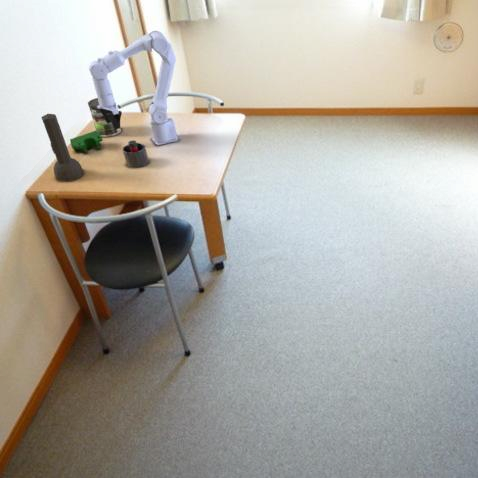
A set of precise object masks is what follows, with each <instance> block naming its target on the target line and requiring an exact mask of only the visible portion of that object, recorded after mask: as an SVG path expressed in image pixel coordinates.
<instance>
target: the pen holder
mask: <svg viewBox="0 0 478 478" xmlns="http://www.w3.org/2000/svg"><path fill="white" fill-rule="evenodd" d="M137 147H138V151H137V152H131V150H130V147H129V144H127V145H124V146H123V148H122V153H123V155H124V160H125V163H126V166H127V167H129V168H132V169H133V168H134V169H135V168H141V167H144V166H147V164H148V163H149V156H148V152H147V148H146V145H145V144H144V143H141V142H137Z"/></svg>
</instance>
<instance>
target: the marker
mask: <svg viewBox="0 0 478 478" xmlns="http://www.w3.org/2000/svg"><path fill="white" fill-rule="evenodd" d="M127 142H128V144H127V145H129V147H130V150H131V152H137V151H138V147H137V143H138V142H137V141H136V140H130V141H127Z"/></svg>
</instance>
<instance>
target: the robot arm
mask: <svg viewBox="0 0 478 478" xmlns="http://www.w3.org/2000/svg"><path fill="white" fill-rule="evenodd" d="M164 35H165V34H163V33H162V32H161V31H159V30H152V31H150V32H149V33H146V34H144V35H142V37H140V38H139V39H136V40H135V41H134V42H132V43H131V44H129V45H128V46H126V47H125V48H123V49H122V50H120V51H119V50H113V51H112V50H109V51H108V52H107V53H108V54H106V55H104V56H103V57H101V58H100V57H98V58H97V59H96V60H93V61H91V62H90V63H89V65H88V66H89V67H88V70H89V72H90V75H91V76H92V81H93V87H94V90H95V94H96V96H97V97H96V98H98V102H99V105H98V106H97V109H98V110H99V111H100V112H101V113H102V115H103V117H104V119H105V121H106V122H107V123H112V125H113V127H114V129H115V130H116V129H119V128H120V129H121V118H122V115H123V112H122V111H121V110H119V109H118V108H117V103H116V101H115V97H114V94H113V90H112V85H111V83H110V80H109V78H108V74H110V73H112V72H114V71H115V70H118V69H119V68H121V67H123V66H124V65H125V63H126V60H127V59H129V58H132V57H134V56H135V55H138V54H139V53H142V52H144V51H145V52H150V53H153V51H154V52H155V53H156V54H158V55H159V57H160V58H161V64H160V67H159V73H158V77H157V82H156V87H155V91H154V96H153V97H152V98H151V101H150V103H149V104H148V106H147V113H148V114H149V115H150V117H151V118H150V120H149V122H150V126H151V131H152V136H153V137H151V139H152V141H153V142H154V144H155V145H156V146H161V145H165V144H169V143H173V142H178V141H179V137H178V133H177V128H176V123H175V121H174V119H173V118H172V117H170V118H169V117H168V113H167V112H168V111H167V109H168V104H167V101H168V96H169V92H170V88H171V83H172V79H173V74H174V70H175V66H176V61H177V59H176V55H175V52H174V50H173V47H172V44H171V43H170V41H169V40H168V39H167V38H166V36H164Z"/></svg>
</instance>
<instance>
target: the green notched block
mask: <svg viewBox="0 0 478 478" xmlns="http://www.w3.org/2000/svg"><path fill="white" fill-rule="evenodd" d="M69 142H70V146H71V149H72V150H73V151H74V152H75V153H79V152H81V151H83V152H84V153H85V154H86V155H87V154H88V149H90V148H95V149H97V150H99V148H100V147H99V144H100V143H102V142H103V137H102V136H101V135H100V134H99V133H98V132H97V131H96V130H93V131H91V132H88V133H85V134H81V135H79V136H76V137H73V138H70V139H69Z"/></svg>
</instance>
